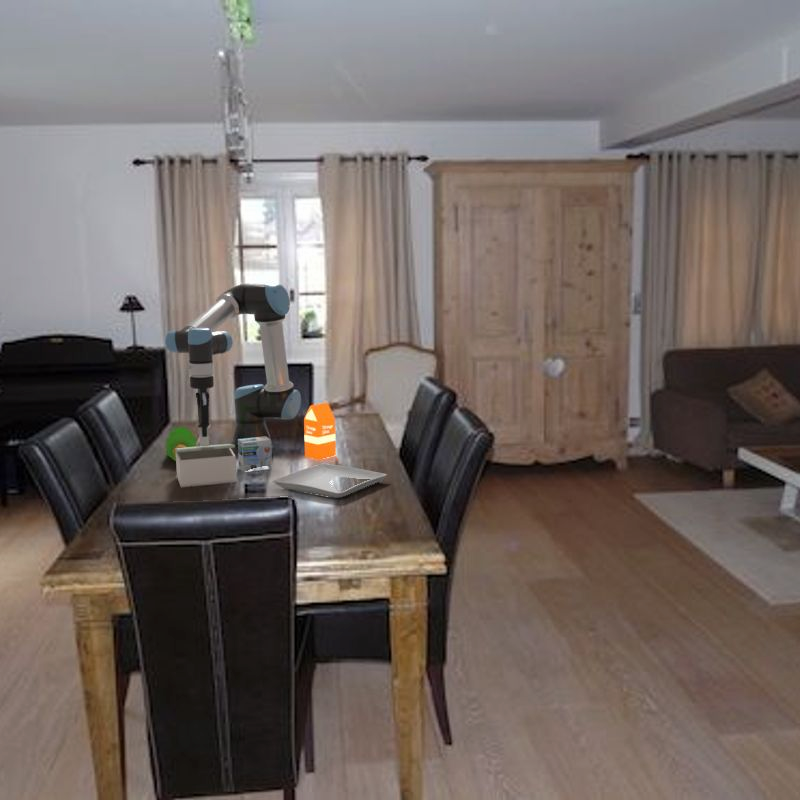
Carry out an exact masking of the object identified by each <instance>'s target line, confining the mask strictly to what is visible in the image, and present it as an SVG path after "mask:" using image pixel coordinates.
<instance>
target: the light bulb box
mask: <svg viewBox="0 0 800 800" xmlns="http://www.w3.org/2000/svg"><path fill="white" fill-rule="evenodd" d="M237 452H238V454H237V457H238V469H239V468H240V469H241V470H242V471H241V470H240V469H239V470H240V471H241V472H243V473H246V472H245V471H248V470H250V469H253V468H257V467H262V466H268V467H269V468H270V469H269V470H273V467H272V466H273V463H272V462H273V461H272V459H273V458H272V455H273V454H272V439H271V438H270V439H269V438H267V437H266V436H264V437H255V438H246V439H238V445H237Z"/></svg>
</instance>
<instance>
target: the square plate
mask: <svg viewBox="0 0 800 800" xmlns="http://www.w3.org/2000/svg"><path fill="white" fill-rule="evenodd" d="M336 476H337V477H347V478H348V477H349V478H356V479H370V480H367V481H364V482H362V483H360V484H357V485H355V486H353V487H351V488H349V489H347V490H345V491H343V492H341V493H339V492H338V491H337V490H336V489H335V488H334V486H333V485H331V484H332V483H331V482H330V481H331V480H332V479H333V478H335V477H336ZM387 476H388V474H387V473H382V472H377V471H374V470H373V471H372V470H368V469H361V468H358V467H357V468H356V467H353V466H345V465H340V464H339V465H337V464H331V463H319V464H317V465H312V466H310V467H307V468H304V469H301V470H298V471H295V472H291V473H290V474H287V475H284V476H282V477H279V478H276V479H273V480H272V482H273V483H274V484H275V485H277V486H278V487H281V488H283V489H286V490H290V491H291V490H292V491H294V492H297V491H299V493H303V492H306V493H305V494H308V493H312V494H311V495H314V494H318V495H317V496H319V495H323V496H322V497H324V496H328V497H327V498H330V497H334V499H335V498H336V499H341V498H344V497H346V495H347V496H348V494H349V495H351V494H350V493H352V494H354V493H356V492H358V491H357V490H359V491H361V490H363V489H366V488H368V487H371V486H373V485H376V484H378V483H379V481H380V482H382V481H383V480H384V479H385V478H386V477H387ZM381 480H382V481H381ZM329 482H330V483H331V484H330V483H329ZM377 482H378V483H377ZM375 483H376V484H375ZM372 484H373V485H372ZM370 485H371V486H370ZM331 486H332V487H331ZM367 486H368V487H367ZM365 487H366V488H365ZM362 488H363V489H362ZM360 489H361V490H360ZM355 491H356V492H355ZM353 492H354V493H353ZM343 496H344V497H343Z"/></svg>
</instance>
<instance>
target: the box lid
mask: <svg viewBox="0 0 800 800" xmlns="http://www.w3.org/2000/svg"><path fill="white" fill-rule="evenodd" d="M221 448H230V449H231V448H236V445H234V444H233V443H221V444H211V445H210V444H209V446H200V445H198V446H197V445H196V447H185V448H175V450H176V451H178V452H185V451H197V450H209V449H221Z"/></svg>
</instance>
